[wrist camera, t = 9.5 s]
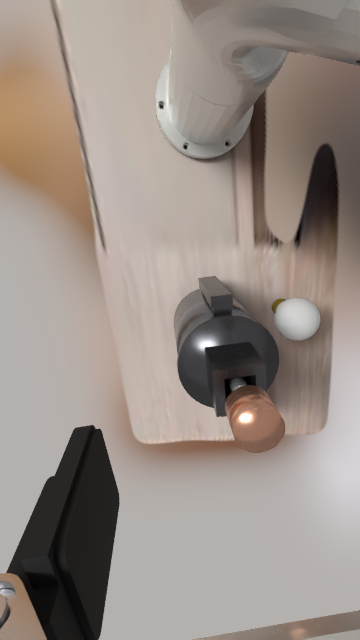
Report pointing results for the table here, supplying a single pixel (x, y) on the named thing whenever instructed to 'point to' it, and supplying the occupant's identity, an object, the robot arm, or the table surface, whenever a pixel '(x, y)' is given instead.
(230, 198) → the table surface
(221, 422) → the table surface
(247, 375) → the airpot
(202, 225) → the table surface
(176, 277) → the table surface
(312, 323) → the light bulb
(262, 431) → the plunger
